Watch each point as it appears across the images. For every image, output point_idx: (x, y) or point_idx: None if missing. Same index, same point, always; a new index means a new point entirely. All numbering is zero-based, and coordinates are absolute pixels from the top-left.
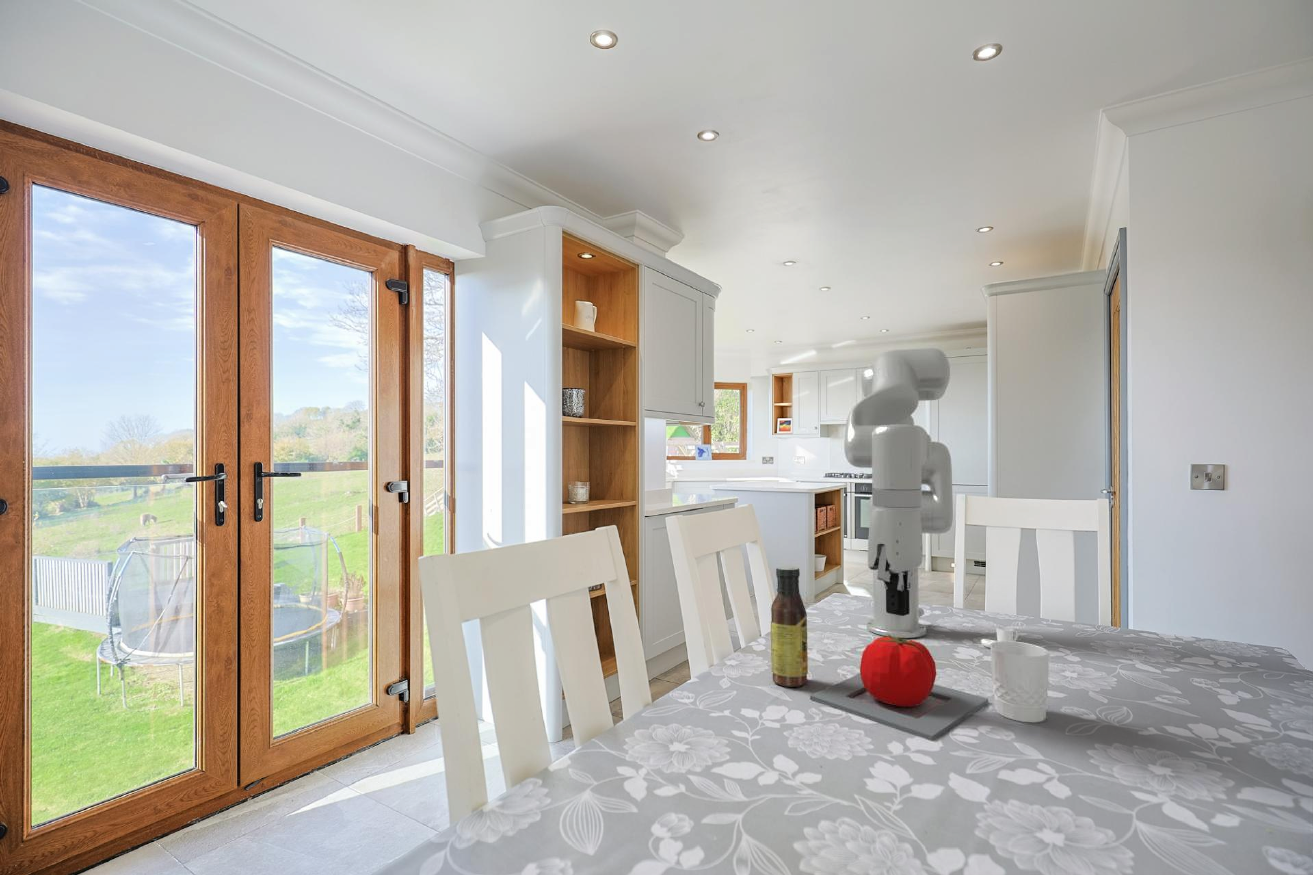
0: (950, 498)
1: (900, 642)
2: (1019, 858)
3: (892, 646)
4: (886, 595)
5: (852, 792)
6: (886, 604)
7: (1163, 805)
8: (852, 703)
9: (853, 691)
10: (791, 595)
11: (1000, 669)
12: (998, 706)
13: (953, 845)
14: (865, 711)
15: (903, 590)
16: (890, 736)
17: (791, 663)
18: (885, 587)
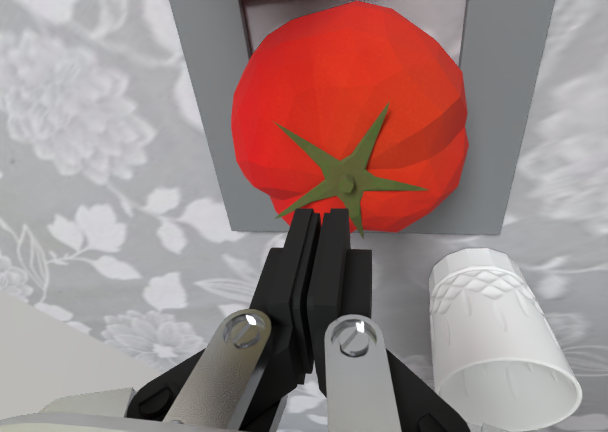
0: None
1: (319, 196)
2: (112, 342)
3: (273, 187)
4: (276, 270)
5: (24, 221)
6: (288, 233)
7: (306, 396)
8: (217, 48)
9: None
10: None
11: (438, 340)
12: (444, 267)
13: (71, 311)
14: (209, 99)
15: (300, 375)
16: (184, 177)
17: None
18: (226, 323)
